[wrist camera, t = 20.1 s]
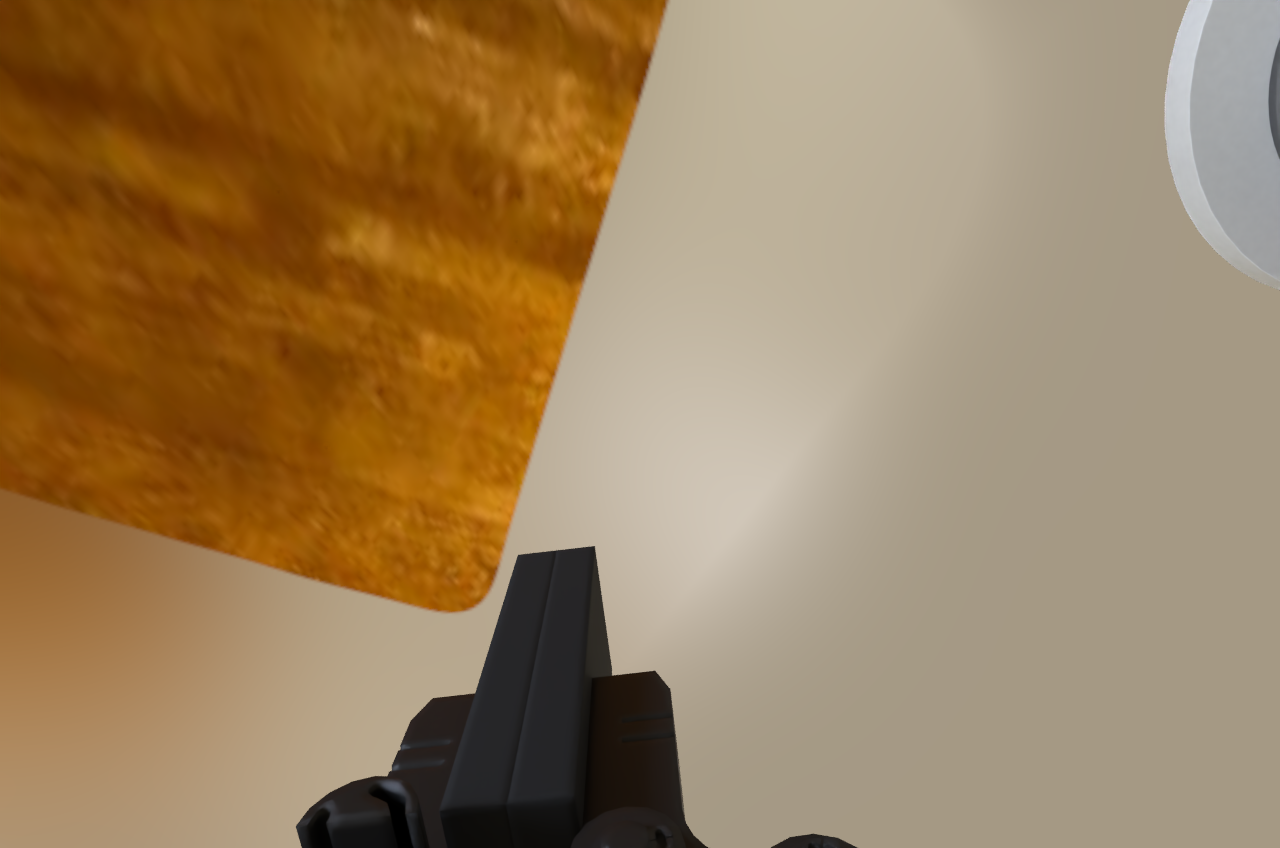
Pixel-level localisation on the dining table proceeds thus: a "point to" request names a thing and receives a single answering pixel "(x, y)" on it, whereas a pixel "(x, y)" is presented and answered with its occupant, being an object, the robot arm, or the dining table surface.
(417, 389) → the dining table surface
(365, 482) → the dining table surface
